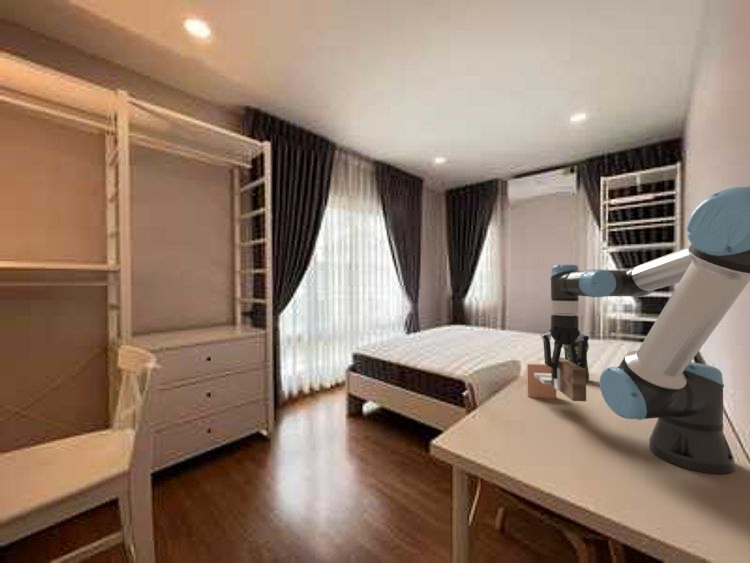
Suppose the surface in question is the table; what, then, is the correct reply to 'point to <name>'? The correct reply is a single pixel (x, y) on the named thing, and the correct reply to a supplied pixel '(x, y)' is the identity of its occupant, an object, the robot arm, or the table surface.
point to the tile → (539, 382)
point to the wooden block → (568, 380)
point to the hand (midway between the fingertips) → (564, 389)
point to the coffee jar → (577, 355)
